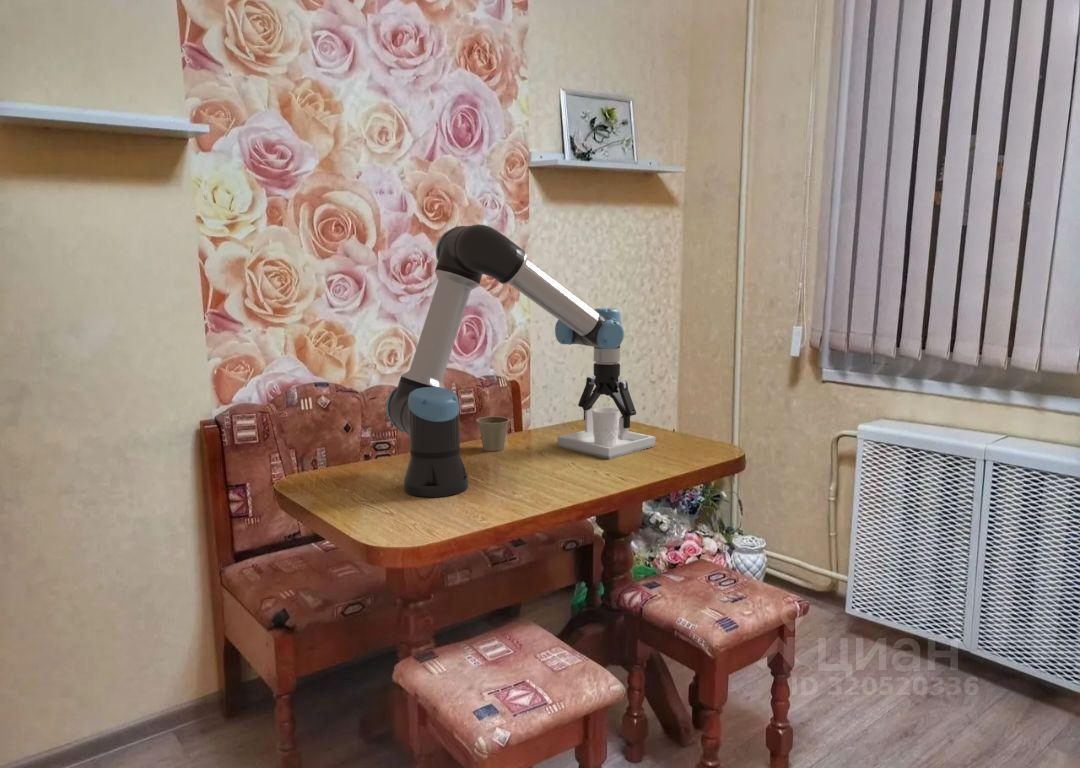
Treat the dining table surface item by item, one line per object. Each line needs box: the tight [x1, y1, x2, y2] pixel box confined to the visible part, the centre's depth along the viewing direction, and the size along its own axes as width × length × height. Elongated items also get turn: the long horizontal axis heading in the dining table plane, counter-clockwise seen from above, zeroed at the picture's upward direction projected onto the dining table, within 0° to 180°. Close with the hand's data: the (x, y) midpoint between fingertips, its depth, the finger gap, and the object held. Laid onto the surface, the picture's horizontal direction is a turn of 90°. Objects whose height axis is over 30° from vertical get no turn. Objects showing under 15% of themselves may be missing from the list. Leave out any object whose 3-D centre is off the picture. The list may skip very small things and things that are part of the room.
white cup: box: [592, 407, 621, 447], centre depth 215 cm, size 8×8×10 cm
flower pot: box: [476, 415, 511, 452], centre depth 214 cm, size 9×9×9 cm
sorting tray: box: [557, 428, 656, 460], centre depth 216 cm, size 20×20×3 cm
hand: (606, 435), depth 216 cm, fingers open, 13 cm apart
